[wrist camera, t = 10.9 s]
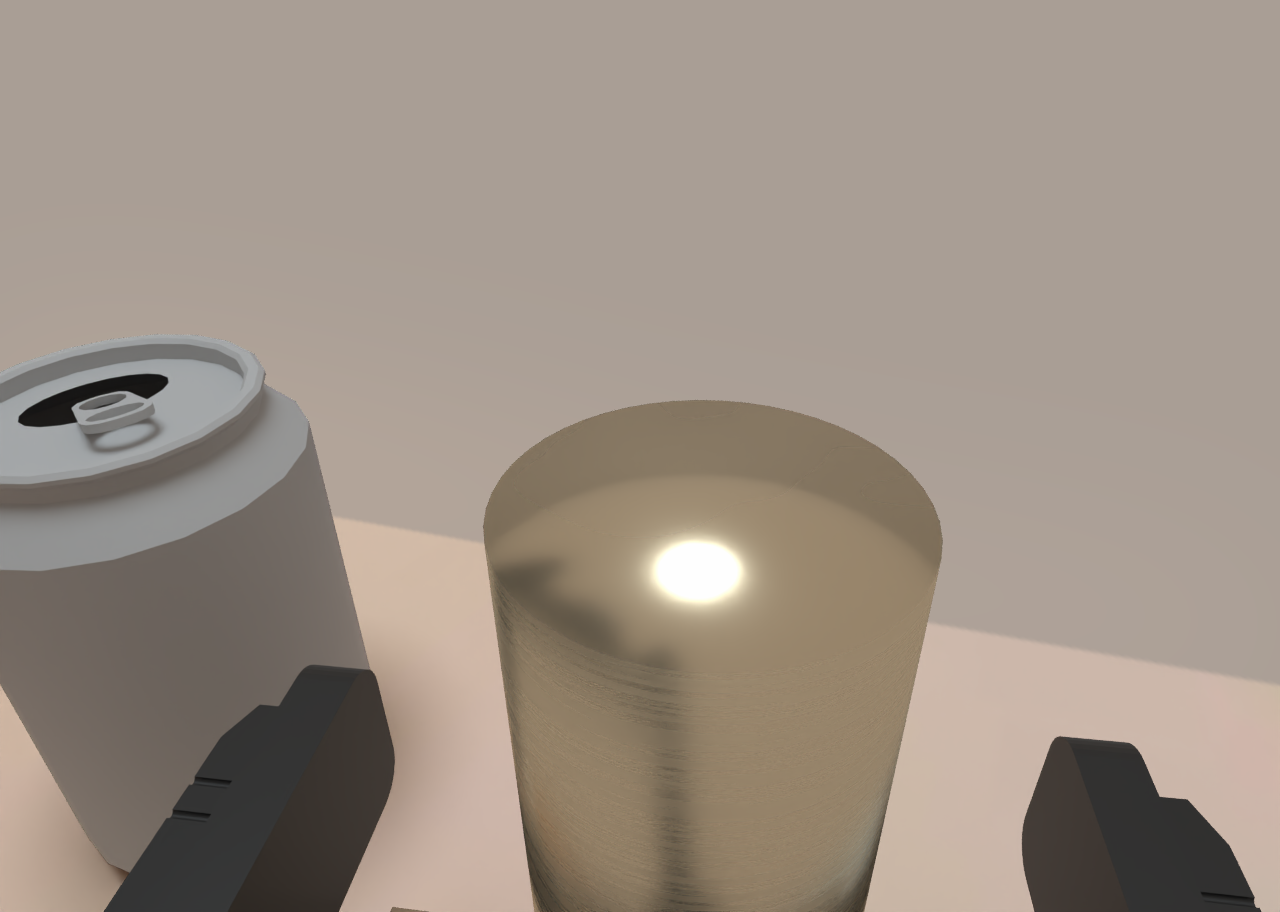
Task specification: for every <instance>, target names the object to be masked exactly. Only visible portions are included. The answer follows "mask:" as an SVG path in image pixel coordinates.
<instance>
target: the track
mask: <svg viewBox="0 0 1280 912" xmlns="http://www.w3.org/2000/svg"><path fill="white" fill-rule="evenodd" d="M391 912H427V911H419V910H411V909H404V908H396V907H392V909H391Z"/></svg>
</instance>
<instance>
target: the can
mask: <svg viewBox="0 0 1280 912" xmlns="http://www.w3.org/2000/svg"><path fill="white" fill-rule="evenodd" d="M265 375H266V373H265V370H264V368H263V367H262V365H261V364H260V362H259V361H258V359H257V357H256V356H255V354H253V353H251V352H249V351H247V350H245V349H243V348H241V347H239V346H237V345H235V344H233V343H231V342H228V341H226V340H220V339H215V338H209V337H204V336H198V335H146V336H137V337H128V338H118V339H110V340H106V341H101V342H96V343H91V344H87V345H82V346H77V347H73V348H68V349H64V350H60V351H57V352H55V353H51V354H48V355H45V356H42V357H39V358H35V359H32V360H29V361H26V362H23V363H20V364H17V365H15V366H13V367H11V368H8V369H6V370H4V371H2V372H0V685H1V686H2V688H3V690H4V692H5V693H6V695H7V697H8V699H9V700H10V702H11V704H12V706H13V707H14V709H15V711H16V713H17V714H18V716H19V718H20V720H21V721H22V723H23V725H24V727H25V728H26V730H27V732H28V734H29V735H30V737H31V739H32V741H33V742H34V744H35V746H36V748H37V749H38V751H39V753H40V755H41V756H42V758H43V760H44V762H45V763H46V765H47V767H48V769H49V770H50V772H51V774H52V776H53V777H54V779H55V781H56V783H57V784H58V786H59V788H60V790H61V791H62V793H63V795H64V797H65V798H66V800H67V802H68V804H69V805H70V807H71V809H72V811H73V812H74V814H75V816H76V818H77V819H78V821H79V823H80V825H81V826H82V828H83V830H84V832H85V833H86V835H87V837H88V838H89V839H90V841H91V842H92V843H93V844H94V846H95V847H96V848H97V850H98V851H99V852H100V854H101V855H102V856H103V858H104V859H105V860H106V861H107V863H109V864H111V865H113V866H115V867H118V868H120V869H122V870H124V871H127V872H129V873H130V872H131V870H132V869H133V867H134V866H135V864H136V863H137V861H138V860H139V858H140V857H141V855H142V854H143V852H144V851H145V849H146V848H147V846H148V845H149V843H150V842H151V840H152V839H153V837H154V836H155V834H156V833H157V831H158V830H159V828H160V827H161V825H162V824H163V822H164V821H165V819H166V818H170V817H171V816H172V812H173V810H172V809H173V808H174V806H175V805H176V803H177V802H178V800H179V799H180V797H181V796H182V794H183V793H184V791H185V790H186V788H187V787H188V785H189V784H190V785H192V784H193V783H194V780H195V777H194V776H195V775H196V773H197V772H198V770H199V769H200V767H201V766H202V764H203V763H204V761H205V760H206V758H207V757H208V755H209V754H210V752H211V751H212V749H213V748H214V746H215V745H216V743H217V742H218V740H219V739H220V738H221V736H223V735H224V734H225V733H226V732H227V731H229V730H230V729H231V728H232V727H233V726H235V725H236V724H237V723H238V722H239V721H241V720H242V719H243V718H244V717H245V716H247V715H248V714H249V713H250V712H251V711H253V710H254V709H255V708H256V707H257V706H259V705H270V706H279V705H280V703H281V702H282V700H283V698H284V697H285V695H286V694H287V692H288V690H289V689H290V687H291V686H292V684H293V682H294V681H295V679H296V678H297V676H298V675H299V673H300V672H301V671H302V670H303V669H304V668H305V667H307V666H309V665H325V666H336V667H346V668H357V669H368V670H370V667H369V663H368V659H367V655H366V651H365V647H364V643H363V639H362V634H361V630H360V626H359V622H358V618H357V614H356V610H355V606H354V602H353V598H352V594H351V590H350V586H349V582H348V578H347V574H346V570H345V566H344V562H343V558H342V554H341V550H340V545H339V541H338V537H337V533H336V529H335V525H334V521H333V517H332V513H331V509H330V505H329V501H328V497H327V493H326V489H325V485H324V481H323V477H322V473H321V469H320V465H319V461H318V457H317V453H316V449H315V444H314V440H313V436H312V432H311V428H310V424H309V421H308V419H307V418H306V416H305V415H304V414H303V412H302V410H301V409H300V407H299V406H298V404H297V403H296V401H294V400H293V399H291V398H289V397H287V396H285V395H284V394H282V393H280V392H278V391H276V390H275V389H273V388H271V387H269V386H267V385H266V384H264V380H265Z"/></svg>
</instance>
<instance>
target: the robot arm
mask: <svg viewBox="0 0 1280 912" xmlns="http://www.w3.org/2000/svg"><path fill="white" fill-rule="evenodd" d="M394 765H395V757H394V748H393V744H392V740H391V736H390V732H389V728H388V724H387V719H386V715H385V711H384V707H383V703H382V699H381V695H380V691H379V687H378V683H377V679H376V676H375V675H374V673H373V672H372V671H371V670H368V669H357V668H346V667H336V666H325V665H309V666H307V667H305V668H304V669H303V670H302V671H301V672H300V673H299V675H298V676H297V678H296V679H295V681H294V682H293V684H292V686H291V687H290V689H289V690H288V692H287V694H286V695H285V697H284V698H283V700H282V702H281V703H280V705H279V706H270V705H259V706H257V707H256V708H255V709H254V710H253V711H251V712H250V713H249V714H248V715H247V716H245V717H244V718H243V719H242V720H241V721H239V722H238V723H237V724H236V725H235V726H233V727H232V728H231V729H230V730H229V731H227V732H226V733H225V734H224V735H223V736H221V738H220V739H219V740H218V742H217V743H216V745H215V746H214V748H213V749H212V751H211V752H210V754H209V755H208V757H207V758H206V760H205V761H204V763H203V764H202V766H201V767H200V769H199V770H198V772H197V773H196V775H195V776H194V777H195V780H194V783H193V784H192V785H190V784H189V785H188V787H187V788H186V790H185V791H184V793H183V794H182V796H181V797H180V799H179V800H178V802H177V803H176V805H175V806H174V808H173V809H172V810H173V812H172V816H171V817H170V818H166V819H165V821H164V822H163V824H162V825H161V827H160V828H159V830H158V831H157V833H156V834H155V836H154V837H153V839H152V840H151V842H150V843H149V845H148V846H147V848H146V849H145V851H144V852H143V854H142V855H141V857H140V858H139V860H138V861H137V863H136V864H135V866H134V867H133V869H132V870H131V872H130V873H129V875H128V876H127V878H126V879H125V881H124V882H123V883H122V885H121V886H120V888H119V889H118V891H117V892H116V894H115V895H114V897H113V898H112V900H111V901H110V903H109V904H108V906H107V907H106V909H105V910H104V912H339V910H340V907H341V905H342V903H343V901H344V898H345V896H346V894H347V891H348V889H349V887H350V885H351V882H352V880H353V878H354V875H355V873H356V871H357V869H358V866H359V864H360V862H361V859H362V857H363V855H364V853H365V850H366V848H367V846H368V843H369V841H370V839H371V837H372V834H373V832H374V830H375V827H376V825H377V823H378V821H379V818H380V816H381V814H382V811H383V809H384V807H385V804H386V802H387V799H388V796H389V793H390V790H391V786H392V781H393V775H394ZM1022 856H1023V865H1024V871H1025V876H1026V880H1027V884H1028V888H1029V892H1030V896H1031V900H1032V904H1033V908H1034V911H1035V912H1261V910H1260V908H1256V907H1255V904H1254V898H1255V897H1254V895H1253V893H1252V891H1251V889H1250V887H1249V885H1248V883H1247V881H1246V879H1245V877H1244V875H1243V873H1242V870H1241V868H1240V866H1239V864H1238V862H1237V860H1236V858H1235V856H1234V854H1233V852H1232V850H1231V848H1230V846H1229V845H1228V844H1227V842H1226V841H1225V840H1224V839H1223V838H1222V837H1221V836H1220V835H1219V834H1218V833H1217V831H1216V830H1215V829H1214V828H1213V827H1212V826H1211V825H1210V824H1209V823H1208V822H1207V820H1206V819H1205V818H1204V817H1203V816H1202V815H1201V814H1200V813H1199V812H1198V811H1197V810H1196V808H1195V807H1194V806H1193V805H1192V804H1191V803H1190V802H1189V801H1188V800H1186V799H1176V798H1166V797H1159V795H1158V792H1157V790H1156V788H1155V785H1154V783H1153V781H1152V778H1151V776H1150V774H1149V771H1148V769H1147V767H1146V764H1145V762H1144V760H1143V758H1142V756H1141V754H1140V753H1139V751H1138V750H1137V749H1136V748H1135V746H1133V745H1132V744H1130V743H1125V742H1114V741H1103V740H1093V739H1082V738H1071V737H1061V736H1059V737H1057V738H1055V739H1054V740H1053V742H1052V744H1051V746H1050V748H1049V751H1048V754H1047V757H1046V760H1045V763H1044V765H1043V768H1042V771H1041V774H1040V777H1039V779H1038V782H1037V785H1036V788H1035V791H1034V793H1033V796H1032V799H1031V802H1030V805H1029V807H1028V810H1027V813H1026V816H1025V820H1024V824H1023V832H1022Z"/></svg>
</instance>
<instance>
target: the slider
mask: <svg viewBox="0 0 1280 912" xmlns="http://www.w3.org/2000/svg"><path fill="white" fill-rule="evenodd" d="M483 529H484V543H485V551H486V558H487V566H488V573H489V580H490V588H491V595H492V602H493V610H494V617H495V625H496V632H497V639H498V647H499V654H500V661H501V669H502V676H503V684H504V691H505V698H506V706H507V713H508V720H509V728H510V735H511V743H512V750H513V757H514V765H515V772H516V779H517V787H518V794H519V802H520V809H521V816H522V824H523V831H524V838H525V846H526V853H527V861H528V868H529V875H530V883H531V890H532V897H533V905H534V912H864V910H865V905H866V901H867V896H868V891H869V887H870V882H871V878H872V873H873V869H874V864H875V859H876V855H877V850H878V846H879V841H880V837H881V832H882V827H883V823H884V818H885V814H886V809H887V805H888V800H889V795H890V791H891V786H892V782H893V777H894V773H895V768H896V763H897V759H898V754H899V750H900V745H901V741H902V736H903V731H904V727H905V722H906V718H907V713H908V709H909V704H910V699H911V695H912V690H913V686H914V681H915V677H916V672H917V668H918V663H919V658H920V654H921V649H922V645H923V640H924V636H925V631H926V626H927V622H928V617H929V613H930V608H931V603H932V599H933V594H934V590H935V585H936V581H937V576H938V571H939V567H940V562H941V555H942V541H943V540H942V533H941V526H940V521H939V519H938V516H937V514H936V511H935V508H934V505H933V503H932V502H931V500H930V499H929V497H928V495H927V494H926V492H925V490H924V489H923V487H922V486H921V485H920V484H919V483H918V481H917V480H916V479H915V478H914V477H913V476H912V474H911V473H910V472H908V470H907V469H905V468H904V467H903V466H902V465H901V464H900V463H899V462H898V461H897V460H895V459H894V458H893V457H891V456H890V455H889V454H887V453H886V452H884V451H883V450H882V449H880V448H879V447H877V446H875V445H874V444H872V443H870V442H869V441H867V440H865V439H863V438H862V437H860V436H858V435H856V434H854V433H851V432H849V431H847V430H845V429H843V428H841V427H839V426H836V425H834V424H831V423H828V422H825V421H822V420H820V419H817V418H814V417H811V416H807V415H804V414H800V413H797V412H793V411H789V410H784V409H780V408H775V407H770V406H764V405H757V404H750V403H741V402H730V401H711V400H710V401H708V400H690V401H670V402H661V403H652V404H646V405H640V406H633V407H628V408H624V409H620V410H615V411H611V412H608V413H603V414H600V415H598V416H594V417H591V418H588V419H585V420H582V421H580V422H578V423H575V424H573V425H571V426H568V427H566V428H564V429H562V430H560V431H558V432H556V433H554V434H553V435H551V436H549V437H547V438H545V439H543V440H542V441H541V442H539V443H538V444H536V445H535V446H533V447H532V448H530V449H529V450H528V451H526V452H525V453H524V454H523V455H522V456H521V457H520V458H518V459H517V460H516V461H515V462H514V463H513V464H512V465H511V466H510V468H509V469H508V470H507V471H506V472H505V473H504V475H503V476H502V477H501V479H500V480H499V482H498V484H497V485H496V487H495V488H494V490H493V492H492V494H491V497H490V499H489V502H488V505H487V507H486V512H485V518H484V525H483Z"/></svg>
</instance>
